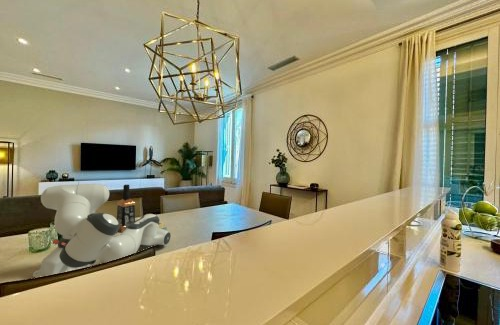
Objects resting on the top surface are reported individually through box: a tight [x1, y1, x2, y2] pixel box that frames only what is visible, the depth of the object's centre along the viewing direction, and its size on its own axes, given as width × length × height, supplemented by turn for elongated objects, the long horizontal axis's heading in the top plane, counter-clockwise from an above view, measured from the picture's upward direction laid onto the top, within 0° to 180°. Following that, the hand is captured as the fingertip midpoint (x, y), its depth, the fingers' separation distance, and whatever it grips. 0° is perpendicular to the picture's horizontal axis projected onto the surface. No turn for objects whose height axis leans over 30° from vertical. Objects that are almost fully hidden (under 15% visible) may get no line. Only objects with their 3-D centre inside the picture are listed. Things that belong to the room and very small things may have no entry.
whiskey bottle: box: [116, 184, 137, 233], centre depth 153 cm, size 10×10×32 cm
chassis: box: [158, 221, 167, 231], centre depth 153 cm, size 14×14×4 cm
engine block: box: [125, 220, 136, 229], centre depth 137 cm, size 5×5×11 cm
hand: (131, 230), depth 138 cm, fingers open, 8 cm apart
